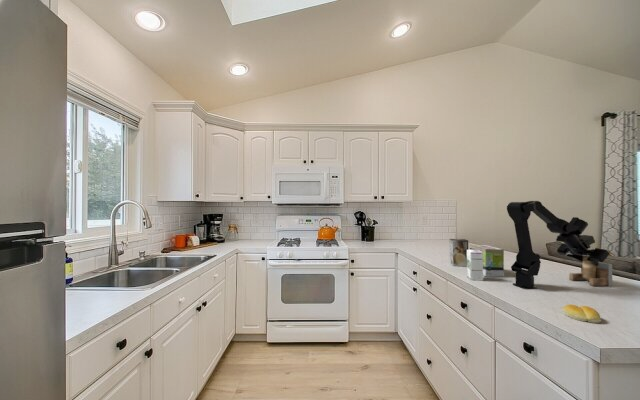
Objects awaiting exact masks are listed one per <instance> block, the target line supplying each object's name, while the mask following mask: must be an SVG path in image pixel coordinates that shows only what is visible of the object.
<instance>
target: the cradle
mask: <svg viewBox="0 0 640 400" xmlns="http://www.w3.org/2000/svg"><path fill="white" fill-rule="evenodd" d="M582 274H583V264H581V266H580V272H575V273H574V272H573V273H568V275H569V276H568V277H569V280H571V281H587V282H589V286H591V287H592V286H593V287H599V286H601V287H602V286H607V285H609V270H605V269H600V268H596V278H590V279H585V278H582Z"/></svg>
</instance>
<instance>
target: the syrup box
mask: <svg viewBox="0 0 640 400" xmlns="http://www.w3.org/2000/svg"><path fill="white" fill-rule="evenodd" d="M466 277H467V278H468V279H469V280H471V281H478V282H479V281H480V282H481V281H482V282H483V281H484V275H483V254H482V252H481V251H479V250H470V249H469V250H467V266H466Z"/></svg>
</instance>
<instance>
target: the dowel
mask: <svg viewBox="0 0 640 400" xmlns="http://www.w3.org/2000/svg"><path fill="white" fill-rule="evenodd" d="M582 256H583V262H582V265H583V274H582V278H585V279H590V278H596V265H594V264H592V263H591V262H589V261H587V259H588V255H587V256H585V255H582Z"/></svg>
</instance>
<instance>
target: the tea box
mask: <svg viewBox="0 0 640 400" xmlns="http://www.w3.org/2000/svg"><path fill="white" fill-rule="evenodd" d="M469 250H479V251H481V252H482V254H483V277H493V278H495V277H498V278H500V277H501V278H502V277H505V276H504V273H505V268H504V267H505V265H504V264H505V263H504V262H505V261H504V260H505V258H504V257H505V256H504V255H505V253H504V248H499V247H495V246H493V245H487V244H469Z"/></svg>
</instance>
